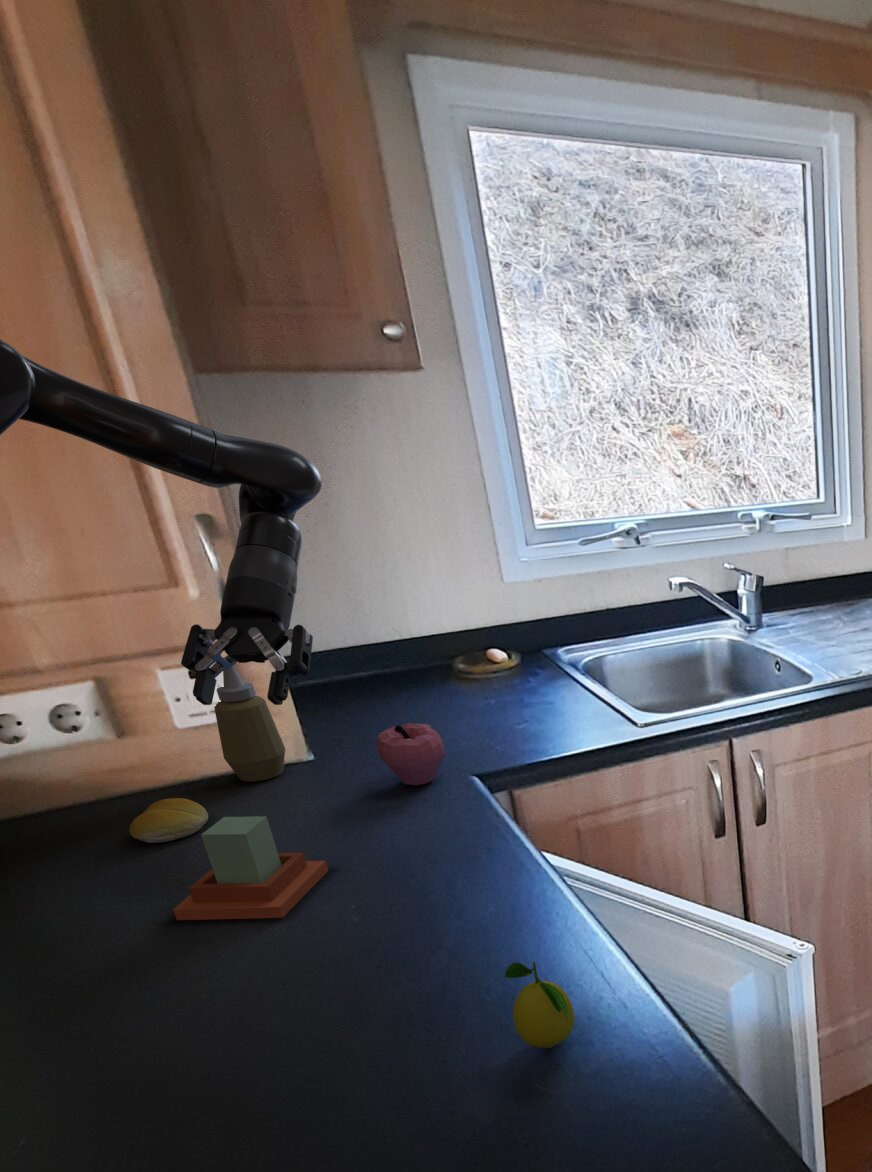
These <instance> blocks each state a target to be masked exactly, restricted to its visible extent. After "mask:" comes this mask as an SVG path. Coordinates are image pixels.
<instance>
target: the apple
mask: <svg viewBox="0 0 872 1172" xmlns="http://www.w3.org/2000/svg"><path fill="white" fill-rule="evenodd" d="M375 747H376V751H377V754H378V756H379V758H380V760H381V762H382V763H384V765H386V766H387V768H388V769H390V771H391V772H393V773H394V774H395V776H397V777H398V778H399V779H400V781H401V782H402V783H403V784H404V785H407V786H408V785H409V786H416V787H417V786H423V785H426V784H428V783H430V782H432V781H433V780H435V779H436V776H437V774H438V771H439V768H440V766H441V764H442V762H443V759H444V757H445V754H446V751H445V746H444V742H443V739H442V738H441V735H440V734H439V732H438V731H437V730H435V729H433V728H432V727H431V724H427V723H411V722H410V723H409V722H407V723H404V724H401V725H399V724H397V725H395V726H392V727H388V728H387V729H385V730H384V731H382V732H381V733H379V734H378V736H377V738H376V742H375Z"/></svg>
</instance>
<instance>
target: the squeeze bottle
mask: <svg viewBox="0 0 872 1172" xmlns="http://www.w3.org/2000/svg"><path fill="white" fill-rule="evenodd" d="M222 677H223V678H222V679H223V680H222V681H223V685H224V687H220V686H219V687H220V688H218V687H217V688H216V693H217V696H218V699H219V701H221V702H219V701H218V702H217V703H216V704H215V705H216V706H214V707H213V709H214V713H215V719H216V724H217V729H218V734H219V739H220V745H221V750H222V755H223V759H224V761H225V762H226V763H227V764H228V766H229V767H230V768H231V769H232V771H233V772H234V773H235V775H236V776H237V777H238V778H239V780H240V781H243V782H262V781H266V780H270V779H274V778H276V777H278V776H280V775H282V774H283V773H284V767H285V756H286V747H285V744H284V742H283V739H282V737H281V735H280V733H279V730H278V727H277V725H276V723H275V721H274V719H273V716H272V713H271V712H270V709H269V707H268V704H267V702H266V700H265V699H264V698H263V697H262V696H259V695H256V690H255V686H254V684H252V682H247V681H246V683H244V682H245V681H244V680H243V679H242V677H241V675H240V674H239V672H238V670H237V668H236V667H235V664H234V665H233V666H232V667H231V668H229V669H225V670H223V671H222Z"/></svg>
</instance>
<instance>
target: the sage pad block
mask: <svg viewBox="0 0 872 1172" xmlns="http://www.w3.org/2000/svg"><path fill="white" fill-rule="evenodd" d="M200 836H201V839H202V842H203V845H204V848H205V851H206V854H207V857H208V860H209V862H210V866H211V869H213V872H214V874H215V877H216V880H217V883H218V884H237V883H264V882H265V881H266V880H267V879H268V878H269V877H270V876H271V875H273V874H274V873H275V872H276V871H277V870H278V869H279V868H280V867H281V866H282V865H281V862H280V859H279V855H278V853H279V852H278V849H277V846H276V841H275V840H274V836H273V833H272V830H271V826H270V822H269V819H268V817H267V816H265V815H263V816H261V815H260V816H258V815H257V816H256V815H255V816H223V817H222V818H220V819H219V820H218V821H216V823H213V825H212V826H210V827H209V828H208V829H207V830H205V831H204V832H202V833H201V834H200Z"/></svg>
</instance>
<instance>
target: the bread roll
mask: <svg viewBox="0 0 872 1172" xmlns="http://www.w3.org/2000/svg"><path fill="white" fill-rule="evenodd" d="M208 820H209V813H208V812H207V809H206V808H205V807H204V806H202V805H201V804H200V803H198V802H196V801H194V800H191V799H188V798H183V797H182V798H181V797H174V798H173V797H172V798H165V799H161V800H158V801H155V802H153V803H152V804H150V805H149V806H148V807H147V808H145V810H144V811H143V812H142V813H141V814H139V815H138V816H136V817H135V818H134V819H133V820H132V822H131V824H129V825H130V826H129V829H128V830H129V834H130V836H131V837H132V838H133V839H136V840H138V841H140V842H145V843H150V844H160V843H168V842H173V841H176V840H180V839H183V838H186V837H190V836H192V835H194V834H196V833H197V832H198V831H200V830H202V829H203V827H204V826H205V824H207V822H208Z"/></svg>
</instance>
